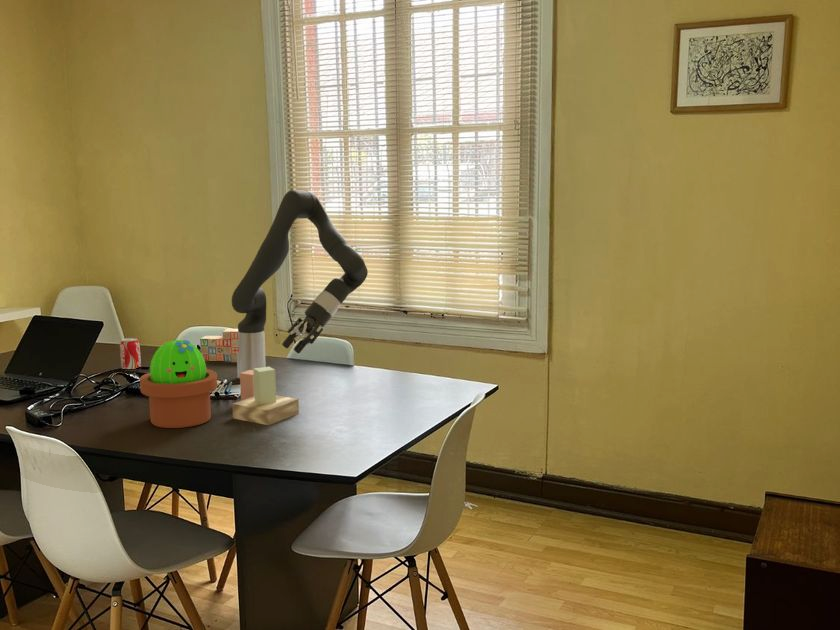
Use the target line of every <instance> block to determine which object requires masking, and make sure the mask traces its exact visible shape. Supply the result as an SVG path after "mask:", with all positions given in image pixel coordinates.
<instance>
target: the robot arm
mask: <svg viewBox="0 0 840 630" xmlns="http://www.w3.org/2000/svg"><path fill="white" fill-rule="evenodd" d="M297 219H307V220H309V221H310V222H311V223H312V224H313V225H314V226H315V228H316V229H317V233H318V238H319V242H320V244H321V246H322V248H323V249H324V250H325V252H327V254H328V255H329V257H331V259H332V260H333V261H335V262H337V263H338V265H339V266H340V267H341V269H342V271H343V272H344V273H343V275H342V276H340V277H339V278H337V277H335V278H333V279H332V280H330V282H329V283H328V284H327V285H325V286H326V287H324V289H323V290H322V292H320V293H319V294H318V295H317V296H316V298H314V299H313V301H312V302H311V303H310V305H309V306H308V307H307V308H306V310H305V311H304V316H305V318H304V319H302V318H301V317H298V318H297V319H296V321H295V322H294V323H293V324H292V325H291V326H290V328H288V330H287V333H288V336H287V337H286V338H285V340H284V341H283V342H281V345H282V346H283V347H284V348H285V349H289V348H290V346H292V344H293V342H295V340H296V339H297V338H299V337H301V339H300V340H299V341H298V343H297V344H295V346H294V347H293V351H294V352H295V353H296V354H300V353H302V351H303V350H304V348H305V347H306V346H307V345H309V344H310V345H312V344H314V342H315V341H316V340H317V338H318V337H319V336H320V334H321V333H322V332H323V330H324V327H325V326H326V325H327V324H328V322H329V321H330V320H331V319H332V317H333V316H334V315H335V314H336V313H337V311H338V309H339V308H340V306H341V305H342V304H343V302H344V301H345V300H346V299H347V297H348V296H350V294H352V293H353V292H354V291H355V290H357V289H358V288H359V287H360V286H361V285H363V284H364V282H365V281H366V279H367V277H368V274H369V273H368V267H367V265H366V263H365V261H364V259H363V257H362V256H361V255H360V253H359V252H357V251H356V250H355V249H354V248H353V247H351V246H350V244H349V242H348V240H346V239H345V237H344V236H343V235H342V234H341V233H340V232H339V231H338V229H337V228H336V227H335V224H334V223H333V222H332V220H331V219H330V217H329V215H328V213H327V212H326V210H325V208H324V206H323V205H322V203H321V201H320V199H319V198H318V196H317V195H316V193H314V192H313V191H310V190H301V189H293V190H292V189H291V190H289V191H287V192H286V193H285V194H284V195H283V198H282V200H281V202H280V204H279V205H278V208H277V212H276V215H275V217H274V219H273V222H272V224H271V226H270V228H269V230H268V233H267V234H266V236H265V238H264V239H263V241H262V243H261V245H260V246H259V249H258V251H257V253H256V255H255V257H254V258H253V260H252V263H250V266H249V268H248V270H247V271H246V273H245V275H244V276H243V278H242V279H241V281H240V282H239V283H238V285H237V286H236V287H235V289H234V291H233V293H232V296H231V306H232V308H233V310H234V311H235V312H236V313H238V314H245V316H244V318H243V319H242V320H240V321H239V322H238V324H237V329H238V342H239V352H237V362H236V368H237V371H236V374H237V379H240V373H242V372H245V371H248V370H253V369H254V368H262V367H267V366H266V364H267V363H266V362H267V361H266V340H265V339H266V338H265V325H266V323H267V295H266V293H265V290H264V289H263V288H262V285H264V284H265V283H266V281H268V280H269V279H270V278H271V277H272V276H273V275H275V273H276V272H277V271H278V270H280V268H281V267H282V266H283V263H284V261H285V259H286V258H287V256H288V254H289V252H290V241H289V240H290V238H289V232H290V230H291V228H292V226H293V225H294V223H295V221H296V220H297Z"/></svg>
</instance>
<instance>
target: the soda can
mask: <svg viewBox="0 0 840 630" xmlns="http://www.w3.org/2000/svg"><path fill="white" fill-rule="evenodd" d="M120 341H121V342H120V343H119V354H120V355H119V356H120V357H119V358H120V367H121V370H122V369H136V368H139V367H141V366H142V362H141V361H142V360H141V358H142V357H141V349H140V348H141V346H140V342H139V340H138V338H136V337H127V338H122V339H121V340H120ZM141 368H142V367H141Z"/></svg>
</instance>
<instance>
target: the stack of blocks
mask: <svg viewBox="0 0 840 630" xmlns="http://www.w3.org/2000/svg"><path fill="white" fill-rule="evenodd" d="M199 341H200V352H201V354H202V356H203V358H204V360H205V362H209V361H225V362H224V363H237V352H239V342H238V328H226V329H224V330H223V331H222V335H205V336H204V335H203V337H201V338H200V339H199ZM201 350H202V351H201Z"/></svg>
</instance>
